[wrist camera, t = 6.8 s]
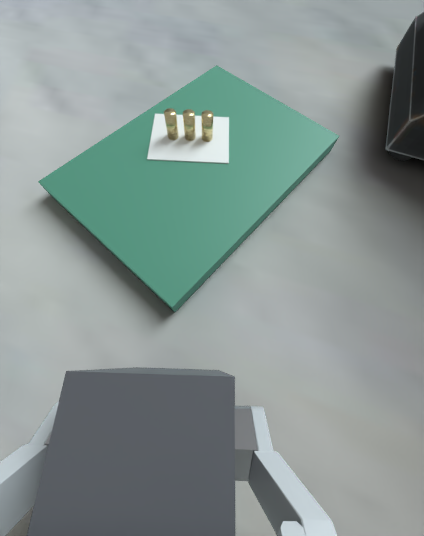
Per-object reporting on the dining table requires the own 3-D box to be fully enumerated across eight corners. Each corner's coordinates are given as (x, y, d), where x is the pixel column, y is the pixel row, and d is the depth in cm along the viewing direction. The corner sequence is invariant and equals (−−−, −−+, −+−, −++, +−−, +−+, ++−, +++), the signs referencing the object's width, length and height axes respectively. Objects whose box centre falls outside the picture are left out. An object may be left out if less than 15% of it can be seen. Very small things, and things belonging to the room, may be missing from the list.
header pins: (168, 132, 20) (164, 107, 18) (212, 134, 20) (213, 110, 18) (167, 140, 19) (163, 116, 18) (212, 142, 19) (213, 118, 18)
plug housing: (218, 370, 15) (234, 376, 7) (217, 460, 13) (235, 592, 5) (136, 367, 14) (66, 371, 7) (124, 458, 13) (14, 588, 5)
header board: (215, 82, 25) (216, 64, 23) (330, 150, 22) (339, 134, 20) (50, 195, 19) (37, 180, 17) (174, 312, 16) (171, 306, 14)
